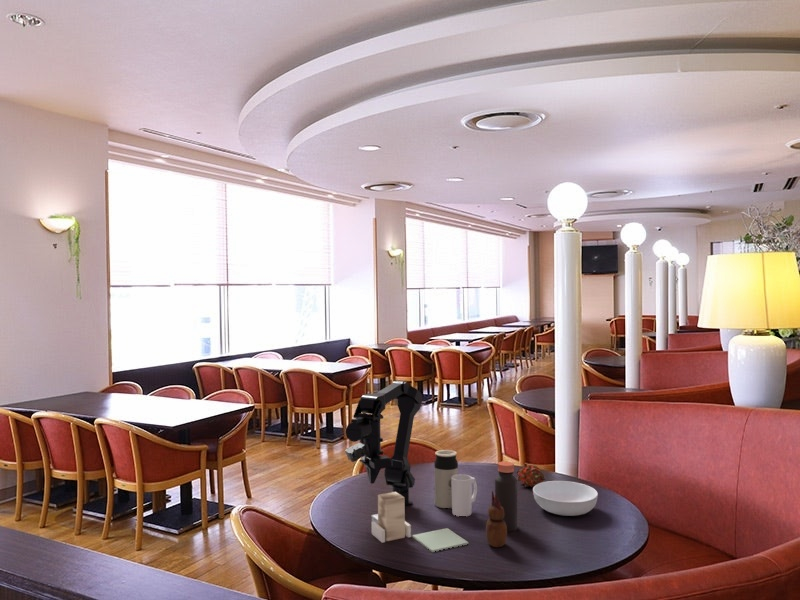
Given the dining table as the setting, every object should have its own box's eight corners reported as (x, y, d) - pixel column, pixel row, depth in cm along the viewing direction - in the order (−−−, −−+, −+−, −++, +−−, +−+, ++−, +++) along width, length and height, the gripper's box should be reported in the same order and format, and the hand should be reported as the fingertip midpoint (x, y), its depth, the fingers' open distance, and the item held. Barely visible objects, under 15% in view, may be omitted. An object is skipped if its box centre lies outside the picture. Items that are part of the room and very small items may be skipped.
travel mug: (430, 503, 215) (430, 451, 215) (451, 499, 218) (450, 448, 218) (441, 510, 208) (440, 456, 207) (462, 507, 211) (461, 454, 210)
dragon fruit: (543, 495, 227) (518, 491, 236) (553, 477, 231) (529, 474, 241) (532, 478, 224) (507, 475, 234) (542, 461, 229) (518, 459, 238)
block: (378, 534, 188) (377, 494, 188) (396, 530, 191) (395, 491, 191) (386, 541, 183) (386, 500, 183) (404, 537, 186) (404, 497, 185)
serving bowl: (520, 512, 206) (520, 491, 206) (552, 496, 221) (552, 476, 221) (579, 528, 192) (579, 506, 192) (609, 510, 207) (608, 489, 207)
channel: (371, 533, 188) (371, 522, 188) (399, 528, 193) (399, 516, 193) (381, 542, 182) (381, 530, 182) (410, 536, 186) (410, 525, 186)
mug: (460, 518, 200) (460, 481, 200) (447, 512, 206) (447, 476, 205) (483, 512, 206) (483, 476, 206) (470, 506, 211) (469, 471, 211)
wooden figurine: (484, 540, 183) (483, 489, 183) (503, 539, 183) (503, 489, 183) (489, 550, 176) (488, 497, 176) (509, 549, 177) (509, 496, 176)
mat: (412, 537, 186) (412, 535, 186) (447, 529, 191) (447, 528, 191) (432, 552, 175) (432, 550, 175) (468, 544, 180) (468, 542, 180)
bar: (371, 524, 197) (371, 515, 197) (380, 522, 198) (380, 513, 198) (380, 532, 190) (380, 522, 190) (389, 530, 192) (389, 520, 192)
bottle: (499, 533, 188) (499, 467, 188) (492, 524, 195) (491, 461, 195) (520, 531, 190) (520, 465, 189) (512, 522, 196) (512, 459, 196)
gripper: (337, 431, 204) (338, 479, 204) (359, 444, 187) (360, 495, 188) (368, 427, 209) (369, 474, 209) (392, 440, 192) (393, 490, 193)
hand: (372, 483), depth 200 cm, fingers closed
